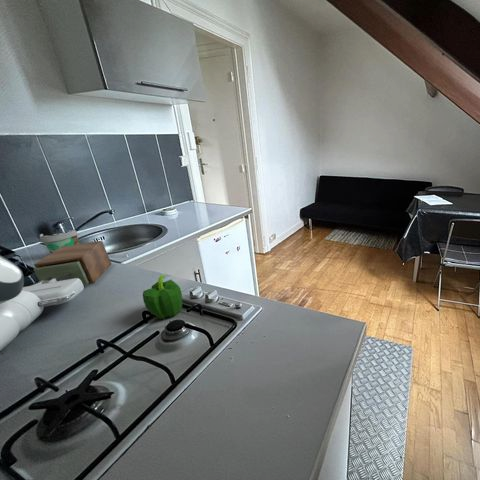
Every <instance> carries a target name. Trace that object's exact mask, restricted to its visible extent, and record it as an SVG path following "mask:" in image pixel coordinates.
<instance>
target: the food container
mask: <svg viewBox="0 0 480 480" xmlns="http://www.w3.org/2000/svg"><path fill="white" fill-rule="evenodd" d="M78 235H79V233H78V232H77V230H76V229H73V230H71V231H68V232H57V233H53V234H47V235H45V234H43V233H41V234H39V242H40V243H43V244H44V246H45V247H46V248H47V250H48V251H49V254H51V253H52V252H54V251H55V250H57V249H59V248H60V247H62V246H69V245H76V244H80V241H79V238H78V237H79V236H78Z"/></svg>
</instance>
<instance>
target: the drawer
mask: <svg viewBox="0 0 480 480" xmlns="http://www.w3.org/2000/svg"><path fill="white" fill-rule="evenodd" d="M33 272H34V274H35V276H36V278H37V279H38V281H39V282H38V283H40V282H41V281H42V280H48V279H54V278H55V279H56V280H57V281H62V280H68V279H74V278H79V279H80V280H81V281H82V283H83V286H86V285H89V284H88V283H89V281H88V280H89V278H88V276H87V274H86V272H85V269H84V267H83V265H82V263H81V261H80V260H75V261H68V262H62V263H56V264H49V265H43V266H42V267H40V268H36V267H35V268H34V269H33Z"/></svg>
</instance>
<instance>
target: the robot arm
mask: <svg viewBox="0 0 480 480" xmlns="http://www.w3.org/2000/svg"><path fill="white" fill-rule="evenodd" d="M39 282H40V281H39ZM39 282H37V283H35V284H31V285H28V286H27V285H26V286H24V285H25V276H24V273H23V271H22V269H21V268H20V267H19V266H18V265H17V264H16V263H14V262H13V261H11V260H9V259H8V258H6V257H4V256H2V255H1V254H0V352H1V351H2V350H3V349H4V348H6V347H7V346H8V345H9V344H10V343H12V342H13V340H15V339H16V338H17V336H19V333H20V332H22V331H24V330H25V329H27V327H29V326H30V325H31V324H32V323H33V322H34V321H35V320H36V319H37V318H39V317H40V316H41V315H42V313H43V312H44V307H49V306H56V305H59V304H60V305H61V304H64V303H67V302H69V301H71V300H73V299H74V298H75V297H76V296H78V295H79V294H80V293H81V292H83V291H84V289H85V285H83V283H82V281H81V280H80V279H79V278H74V279H68V280H62V281H57V280H56V279H55V278H54V279H48V280H42V281H41V282H40V283H39Z"/></svg>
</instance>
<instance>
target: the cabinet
mask: <svg viewBox="0 0 480 480" xmlns="http://www.w3.org/2000/svg"><path fill="white" fill-rule="evenodd" d="M75 260H80V261H81V263H82V265H83V267H84V269H85V272H86V274H87V276H88V278H89V280H88V281H89V283H88V284H87V285H92V284H95V283H96V282H97V281H98V279H99V278H101V276H102V275H103V274H104V273H105V272H106V271H107V270H108V269H109V268H110V267H111V265H112V261H111V259H110V256H109V254H108V252H107V250H106V247H105V244H104V242H103V240H98V241H97V240H96V241H91V242H83V243H79V244H76V245H69V246H62V247H60V248H59V249H57V250H55V251H54V252H52V253H49V254H48V255H46V256H44V257H43V258H42V259H40V260H38V261H36V262H35V263H34V264H33V265H34V267H35V268H40V267H42V266H43V265H49V264H56V263H62V262H68V261H75Z"/></svg>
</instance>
